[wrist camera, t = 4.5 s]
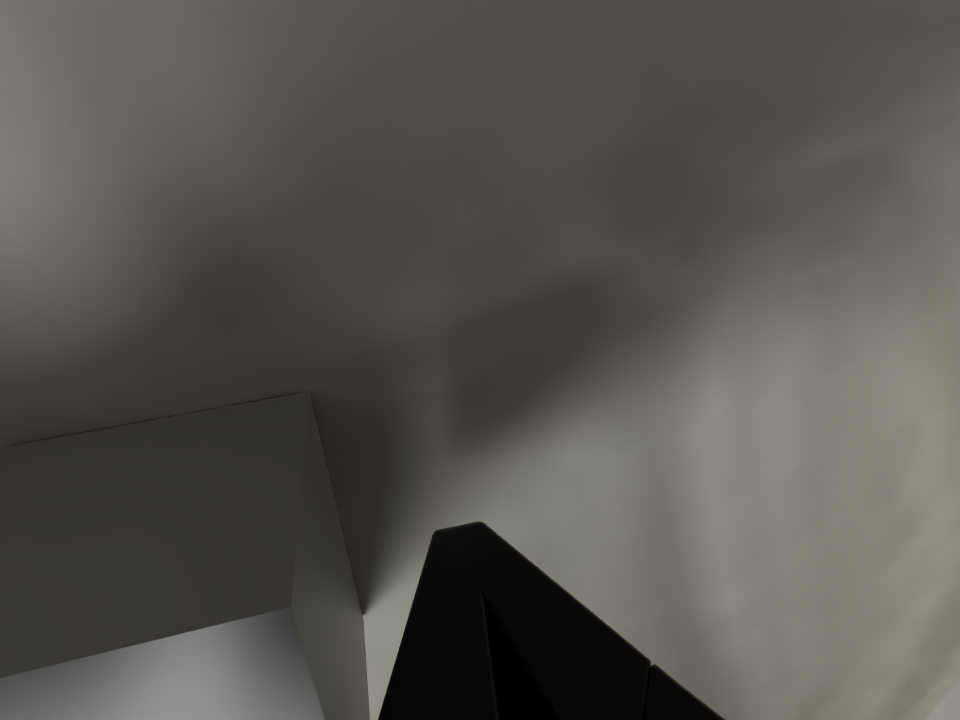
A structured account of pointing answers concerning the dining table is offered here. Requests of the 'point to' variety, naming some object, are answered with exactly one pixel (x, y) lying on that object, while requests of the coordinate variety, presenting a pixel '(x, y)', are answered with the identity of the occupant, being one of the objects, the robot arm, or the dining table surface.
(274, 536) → the plug
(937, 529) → the dining table surface
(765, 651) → the dining table surface
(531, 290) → the dining table surface
